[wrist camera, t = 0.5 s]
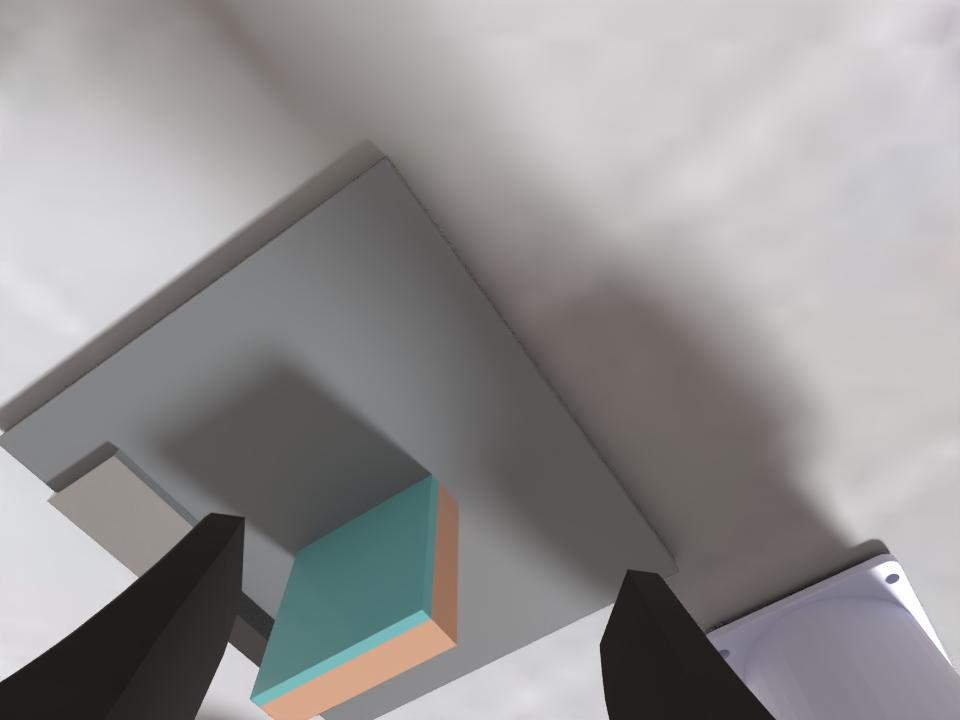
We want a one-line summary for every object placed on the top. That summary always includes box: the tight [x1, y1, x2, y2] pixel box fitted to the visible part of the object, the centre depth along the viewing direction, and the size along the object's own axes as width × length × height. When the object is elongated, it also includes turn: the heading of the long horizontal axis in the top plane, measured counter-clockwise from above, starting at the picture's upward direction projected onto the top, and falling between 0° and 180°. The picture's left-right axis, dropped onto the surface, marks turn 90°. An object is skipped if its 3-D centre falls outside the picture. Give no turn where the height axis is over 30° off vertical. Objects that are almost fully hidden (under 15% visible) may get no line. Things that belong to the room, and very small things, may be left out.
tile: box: [250, 474, 459, 720], centre depth 21 cm, size 2×6×6 cm, turn 124°
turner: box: [47, 449, 339, 716], centre depth 25 cm, size 13×3×1 cm, turn 34°
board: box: [0, 157, 679, 720], centre depth 24 cm, size 18×16×1 cm
